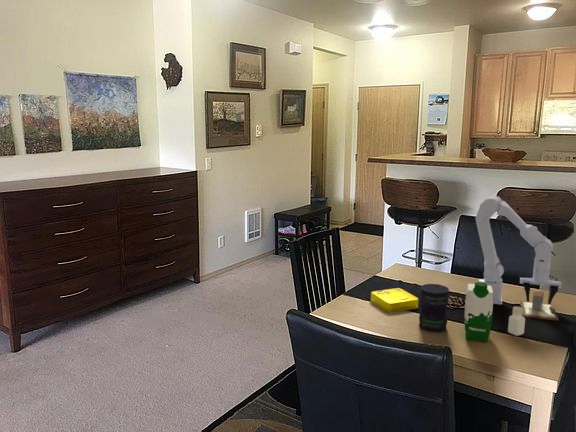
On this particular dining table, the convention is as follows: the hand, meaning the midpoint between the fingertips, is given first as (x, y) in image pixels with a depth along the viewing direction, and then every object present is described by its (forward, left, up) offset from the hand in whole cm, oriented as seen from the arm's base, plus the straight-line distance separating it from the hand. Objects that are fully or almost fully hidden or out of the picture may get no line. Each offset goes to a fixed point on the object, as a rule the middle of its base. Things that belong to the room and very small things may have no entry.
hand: (538, 302), depth 190 cm
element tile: (-55, -15, -4) cm, 57 cm away
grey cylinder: (-1, -2, -2) cm, 3 cm away
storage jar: (-38, -33, -3) cm, 50 cm away
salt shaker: (-10, -28, -3) cm, 30 cm away
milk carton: (-23, -36, -3) cm, 43 cm away
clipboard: (0, -2, -3) cm, 4 cm away
